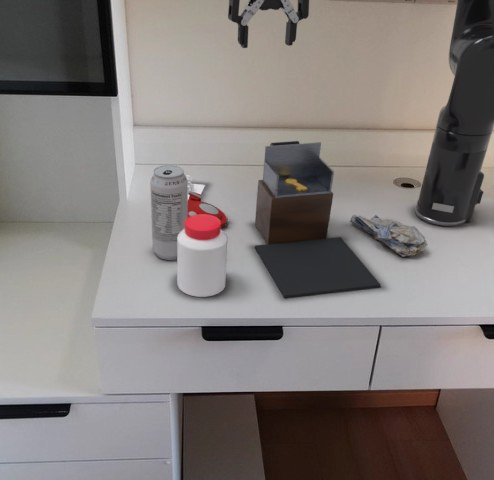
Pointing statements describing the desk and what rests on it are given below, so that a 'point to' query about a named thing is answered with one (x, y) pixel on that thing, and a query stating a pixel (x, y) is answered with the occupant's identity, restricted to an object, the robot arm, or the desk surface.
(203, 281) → the pill bottle
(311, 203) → the stand
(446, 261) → the desk surface
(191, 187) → the adhesive hook
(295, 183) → the brass key
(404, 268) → the desk surface
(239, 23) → the robot arm
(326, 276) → the mat
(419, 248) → the mineral specimen
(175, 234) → the energy drink can
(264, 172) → the key caddy
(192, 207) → the tracker holder
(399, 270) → the desk surface
